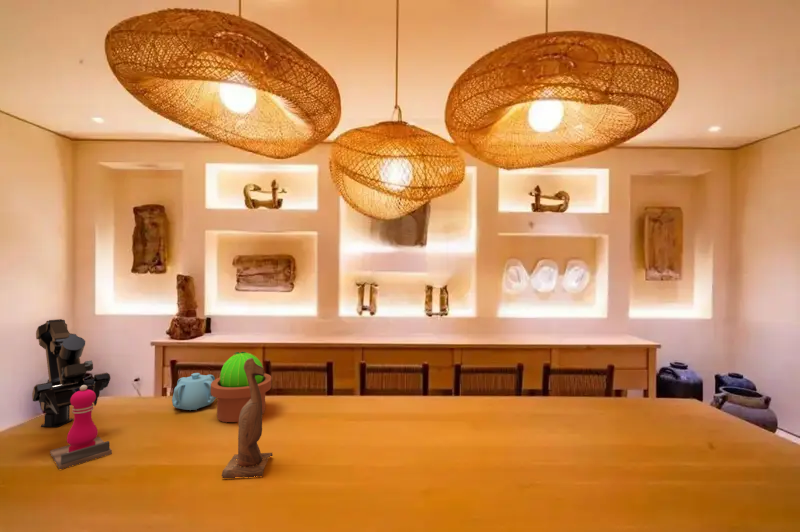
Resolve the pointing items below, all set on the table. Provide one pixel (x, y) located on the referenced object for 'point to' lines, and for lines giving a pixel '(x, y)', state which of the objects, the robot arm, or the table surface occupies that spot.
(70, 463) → the flat brown board
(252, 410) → the bird sculpture
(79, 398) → the pepper mill
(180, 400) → the decorative pot
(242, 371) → the potted cactus
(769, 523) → the table surface
